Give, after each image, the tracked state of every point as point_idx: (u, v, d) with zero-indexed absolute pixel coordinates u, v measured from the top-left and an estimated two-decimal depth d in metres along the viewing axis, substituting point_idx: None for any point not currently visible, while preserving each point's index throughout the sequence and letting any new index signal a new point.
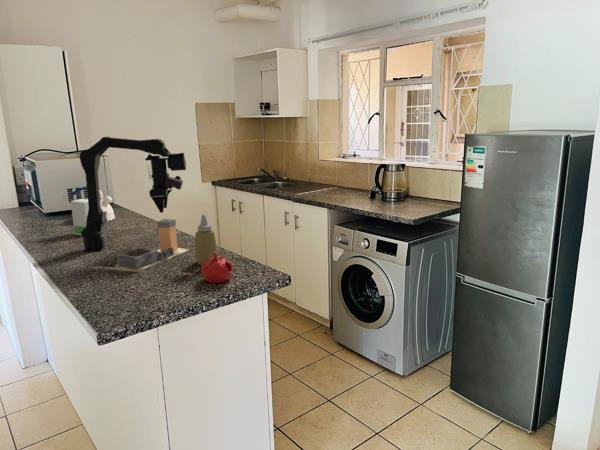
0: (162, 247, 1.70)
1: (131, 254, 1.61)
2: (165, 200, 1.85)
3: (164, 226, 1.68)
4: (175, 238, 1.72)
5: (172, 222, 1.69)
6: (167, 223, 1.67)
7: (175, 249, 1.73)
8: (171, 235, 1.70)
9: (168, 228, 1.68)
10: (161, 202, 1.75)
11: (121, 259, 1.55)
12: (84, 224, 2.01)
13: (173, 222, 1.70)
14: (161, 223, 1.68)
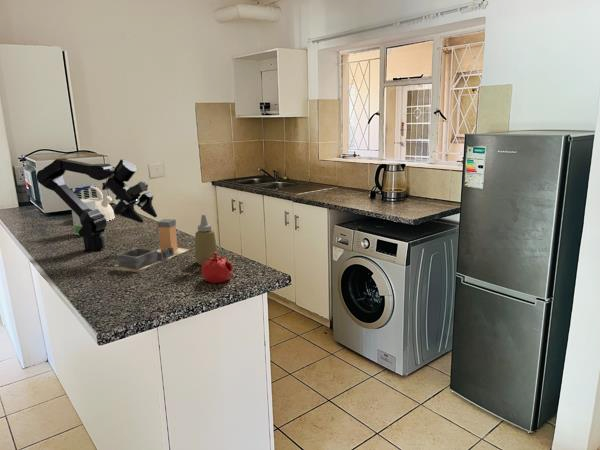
0: (162, 247, 1.70)
1: (131, 254, 1.61)
2: (151, 210, 1.76)
3: (164, 226, 1.68)
4: (175, 238, 1.72)
5: (172, 222, 1.69)
6: (167, 223, 1.67)
7: (175, 249, 1.73)
8: (171, 235, 1.70)
9: (168, 228, 1.68)
10: (133, 213, 1.66)
11: (121, 259, 1.55)
12: None
13: (173, 222, 1.70)
14: (161, 223, 1.68)
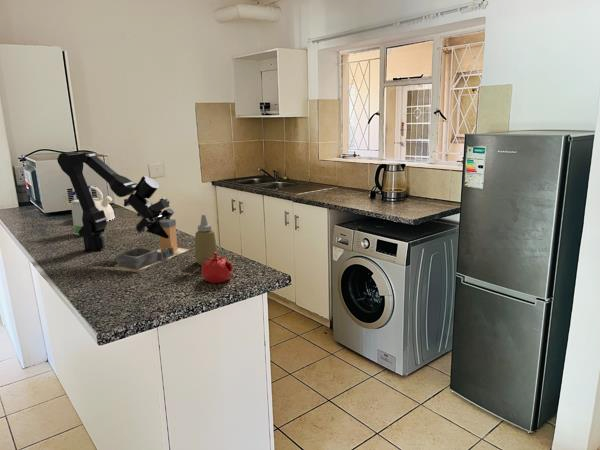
0: (162, 247, 1.70)
1: (131, 254, 1.61)
2: None
3: (164, 226, 1.68)
4: (175, 238, 1.72)
5: (172, 222, 1.69)
6: (167, 223, 1.67)
7: (175, 249, 1.73)
8: (171, 235, 1.70)
9: (168, 228, 1.68)
10: (158, 229, 1.67)
11: (121, 259, 1.55)
12: None
13: (173, 222, 1.70)
14: (161, 223, 1.68)
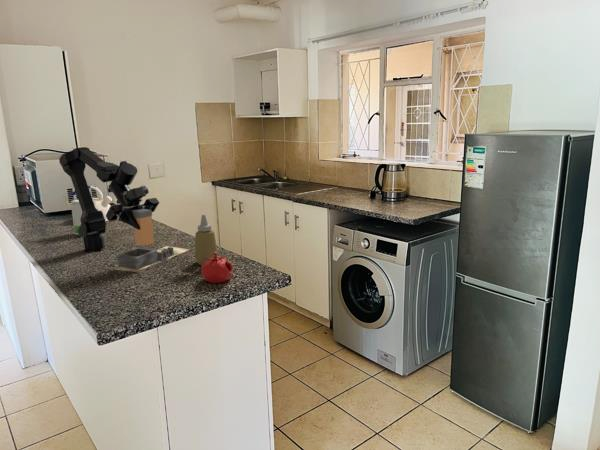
0: (136, 238, 1.59)
1: (131, 254, 1.61)
2: None
3: (136, 216, 1.56)
4: (150, 230, 1.59)
5: (146, 212, 1.56)
6: (138, 213, 1.55)
7: (150, 242, 1.59)
8: (144, 226, 1.57)
9: (139, 219, 1.55)
10: (130, 219, 1.56)
11: (121, 259, 1.55)
12: None
13: (147, 213, 1.57)
14: (134, 213, 1.56)
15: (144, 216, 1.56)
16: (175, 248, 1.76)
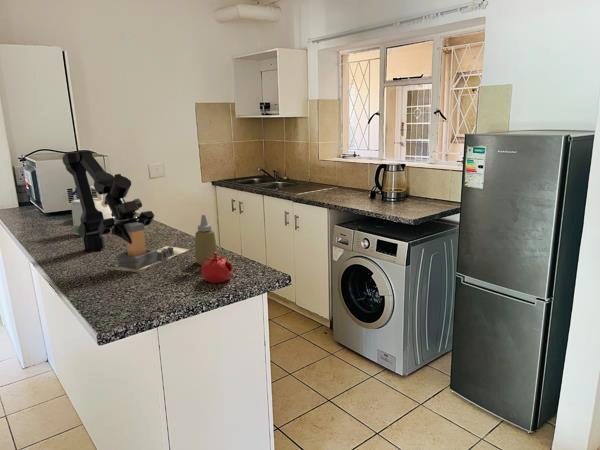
0: (128, 252, 1.57)
1: None
2: None
3: (128, 230, 1.54)
4: (143, 244, 1.57)
5: (137, 227, 1.54)
6: (130, 227, 1.53)
7: None
8: (136, 240, 1.55)
9: (131, 233, 1.53)
10: (122, 233, 1.54)
11: (121, 259, 1.55)
12: None
13: (139, 227, 1.55)
14: (126, 226, 1.54)
15: (136, 230, 1.54)
16: (175, 248, 1.76)
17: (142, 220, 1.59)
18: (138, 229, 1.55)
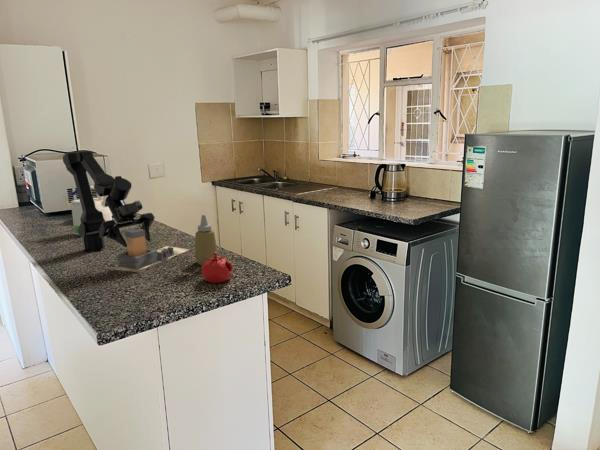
0: None
1: None
2: (145, 233, 1.60)
3: (129, 236, 1.55)
4: (144, 250, 1.57)
5: (138, 233, 1.55)
6: (131, 233, 1.53)
7: None
8: (137, 246, 1.55)
9: (132, 239, 1.54)
10: (117, 236, 1.53)
11: (121, 259, 1.55)
12: None
13: (140, 233, 1.55)
14: (127, 233, 1.55)
15: (137, 236, 1.55)
16: (175, 248, 1.76)
17: (147, 221, 1.61)
18: (139, 235, 1.55)
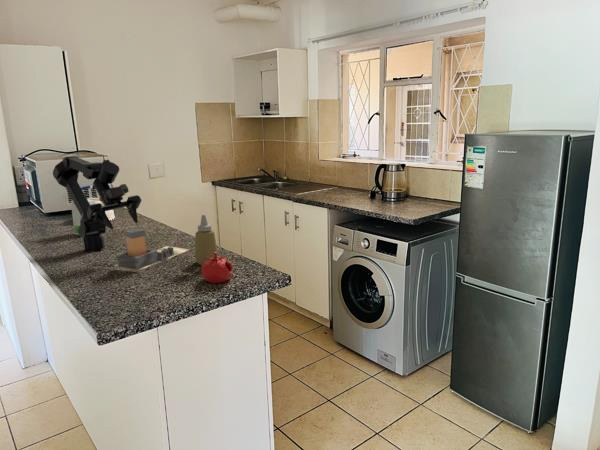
0: None
1: None
2: (133, 215, 1.66)
3: (129, 236, 1.55)
4: (144, 250, 1.57)
5: (138, 233, 1.55)
6: (131, 233, 1.53)
7: None
8: (137, 246, 1.55)
9: (132, 239, 1.54)
10: (104, 219, 1.59)
11: (121, 259, 1.55)
12: None
13: (140, 233, 1.55)
14: (127, 233, 1.55)
15: (137, 236, 1.55)
16: (175, 248, 1.76)
17: (135, 203, 1.66)
18: (139, 235, 1.55)
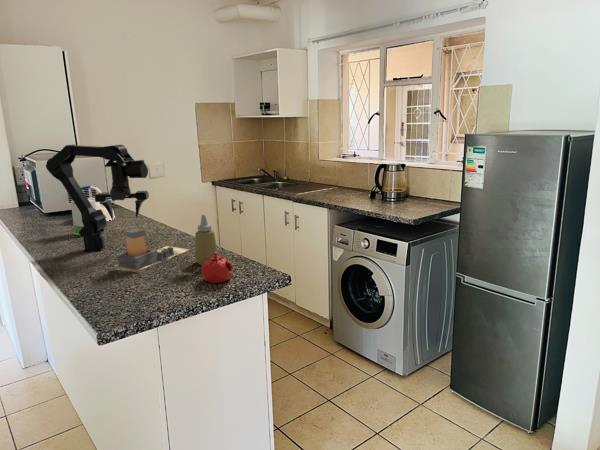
0: None
1: None
2: None
3: (129, 236, 1.55)
4: (144, 250, 1.57)
5: (138, 233, 1.55)
6: (131, 233, 1.53)
7: None
8: (137, 246, 1.55)
9: (132, 239, 1.54)
10: None
11: (121, 259, 1.55)
12: None
13: (140, 233, 1.55)
14: (127, 233, 1.55)
15: (137, 236, 1.55)
16: (175, 248, 1.76)
17: (138, 202, 1.73)
18: (139, 235, 1.55)
